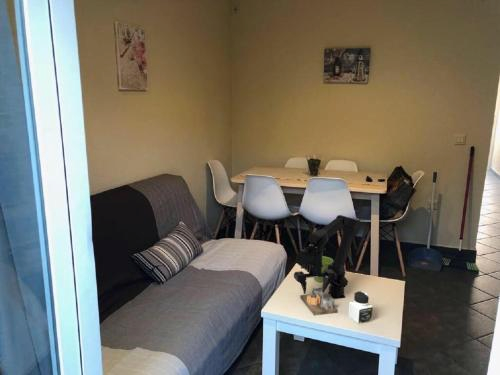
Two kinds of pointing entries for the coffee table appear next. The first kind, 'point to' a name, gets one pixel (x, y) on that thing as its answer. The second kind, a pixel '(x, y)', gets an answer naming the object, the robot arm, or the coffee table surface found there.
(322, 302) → the gear board
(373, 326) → the coffee table surface
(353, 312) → the medicine bottle
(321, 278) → the plant pot
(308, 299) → the orange gear
